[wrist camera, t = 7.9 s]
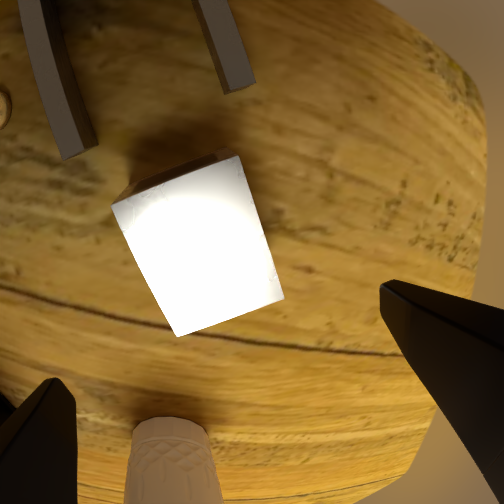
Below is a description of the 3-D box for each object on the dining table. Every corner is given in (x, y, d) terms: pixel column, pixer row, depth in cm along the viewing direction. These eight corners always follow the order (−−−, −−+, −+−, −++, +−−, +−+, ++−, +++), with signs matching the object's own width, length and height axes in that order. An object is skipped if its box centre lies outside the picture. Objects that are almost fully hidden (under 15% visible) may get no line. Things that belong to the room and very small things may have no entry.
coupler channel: (246, 87, 15) (258, 81, 12) (79, 154, 15) (59, 162, 12) (183, -80, 10) (184, -106, 7) (31, -17, 10) (9, -33, 7)
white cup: (124, 405, 22) (115, 516, 13) (221, 414, 24) (240, 521, 15) (128, 453, 25) (126, 543, 16) (208, 459, 27) (222, 547, 18)
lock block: (263, 259, 19) (284, 298, 15) (177, 291, 19) (177, 336, 15) (226, 146, 16) (238, 155, 12) (129, 183, 16) (110, 205, 12)
